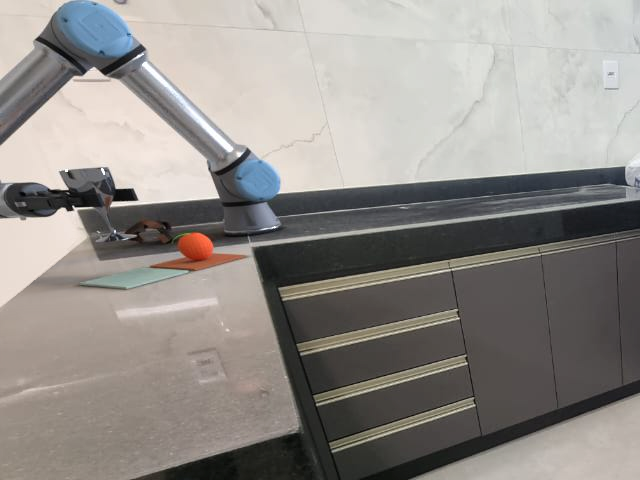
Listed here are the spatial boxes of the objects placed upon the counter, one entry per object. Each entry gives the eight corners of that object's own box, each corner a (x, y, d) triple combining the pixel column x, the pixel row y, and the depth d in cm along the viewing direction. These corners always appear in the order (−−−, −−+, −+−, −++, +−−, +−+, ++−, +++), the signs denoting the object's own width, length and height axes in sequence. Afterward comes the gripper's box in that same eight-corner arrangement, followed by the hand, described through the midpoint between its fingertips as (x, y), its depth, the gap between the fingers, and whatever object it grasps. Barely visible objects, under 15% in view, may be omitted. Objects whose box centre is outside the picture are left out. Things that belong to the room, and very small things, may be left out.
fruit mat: (203, 254, 143) (202, 252, 143) (246, 256, 138) (245, 255, 138) (150, 267, 132) (149, 265, 132) (195, 270, 127) (194, 268, 127)
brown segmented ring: (159, 247, 156) (131, 224, 152) (143, 261, 160) (114, 239, 155) (188, 228, 165) (162, 207, 161) (172, 241, 169) (146, 220, 164)
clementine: (179, 265, 130) (167, 237, 127) (178, 261, 135) (166, 233, 132) (219, 259, 135) (208, 231, 132) (216, 254, 139) (205, 227, 136)
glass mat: (143, 269, 130) (142, 267, 130) (188, 272, 126) (187, 270, 126) (80, 285, 119) (79, 282, 119) (126, 289, 115) (125, 287, 114)
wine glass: (133, 233, 125) (103, 166, 119) (143, 236, 121) (112, 167, 115) (89, 240, 120) (54, 170, 113) (97, 244, 115) (62, 171, 109)
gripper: (79, 209, 129) (165, 207, 127) (-19, 226, 111) (80, 223, 109) (63, 177, 125) (151, 174, 123) (-40, 189, 107) (61, 185, 105)
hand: (118, 197), depth 116 cm, fingers closed on wine glass, 7 cm apart
